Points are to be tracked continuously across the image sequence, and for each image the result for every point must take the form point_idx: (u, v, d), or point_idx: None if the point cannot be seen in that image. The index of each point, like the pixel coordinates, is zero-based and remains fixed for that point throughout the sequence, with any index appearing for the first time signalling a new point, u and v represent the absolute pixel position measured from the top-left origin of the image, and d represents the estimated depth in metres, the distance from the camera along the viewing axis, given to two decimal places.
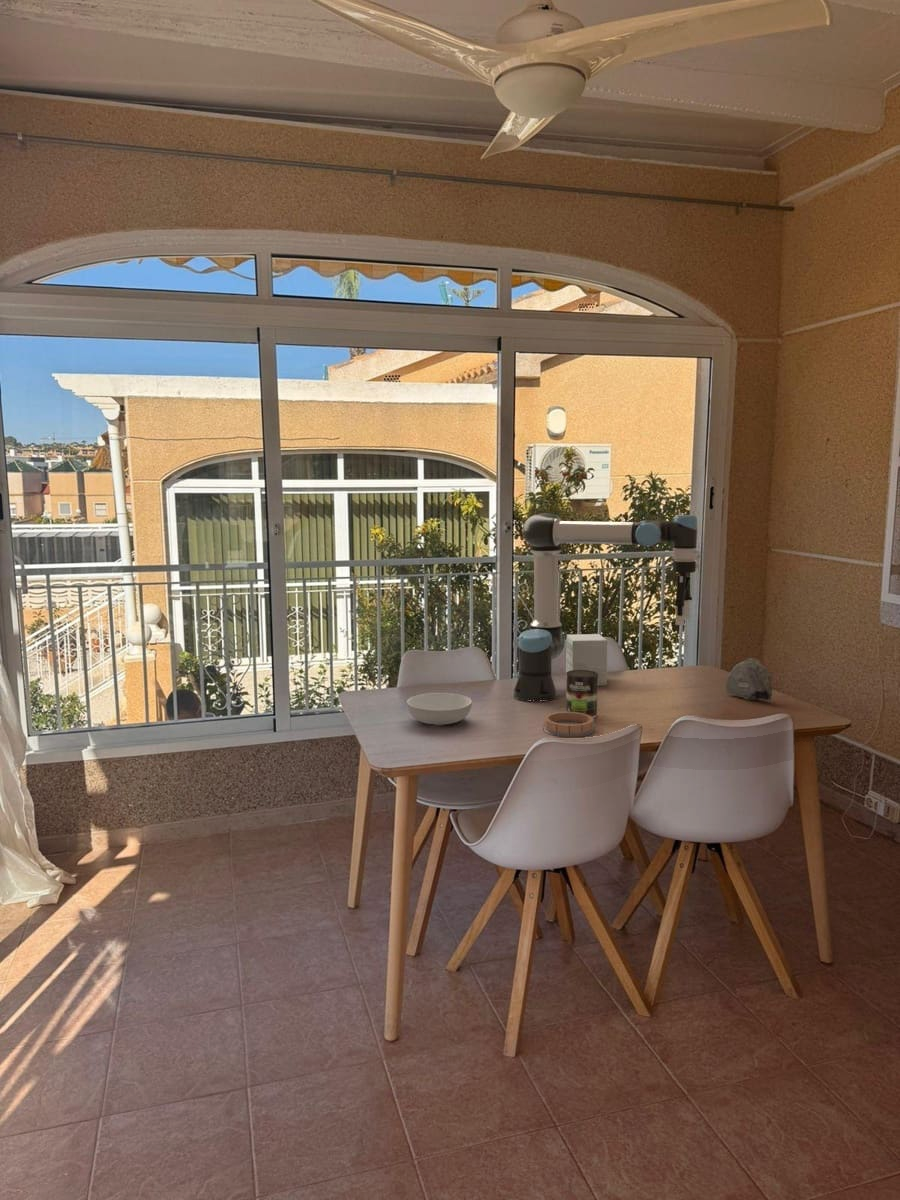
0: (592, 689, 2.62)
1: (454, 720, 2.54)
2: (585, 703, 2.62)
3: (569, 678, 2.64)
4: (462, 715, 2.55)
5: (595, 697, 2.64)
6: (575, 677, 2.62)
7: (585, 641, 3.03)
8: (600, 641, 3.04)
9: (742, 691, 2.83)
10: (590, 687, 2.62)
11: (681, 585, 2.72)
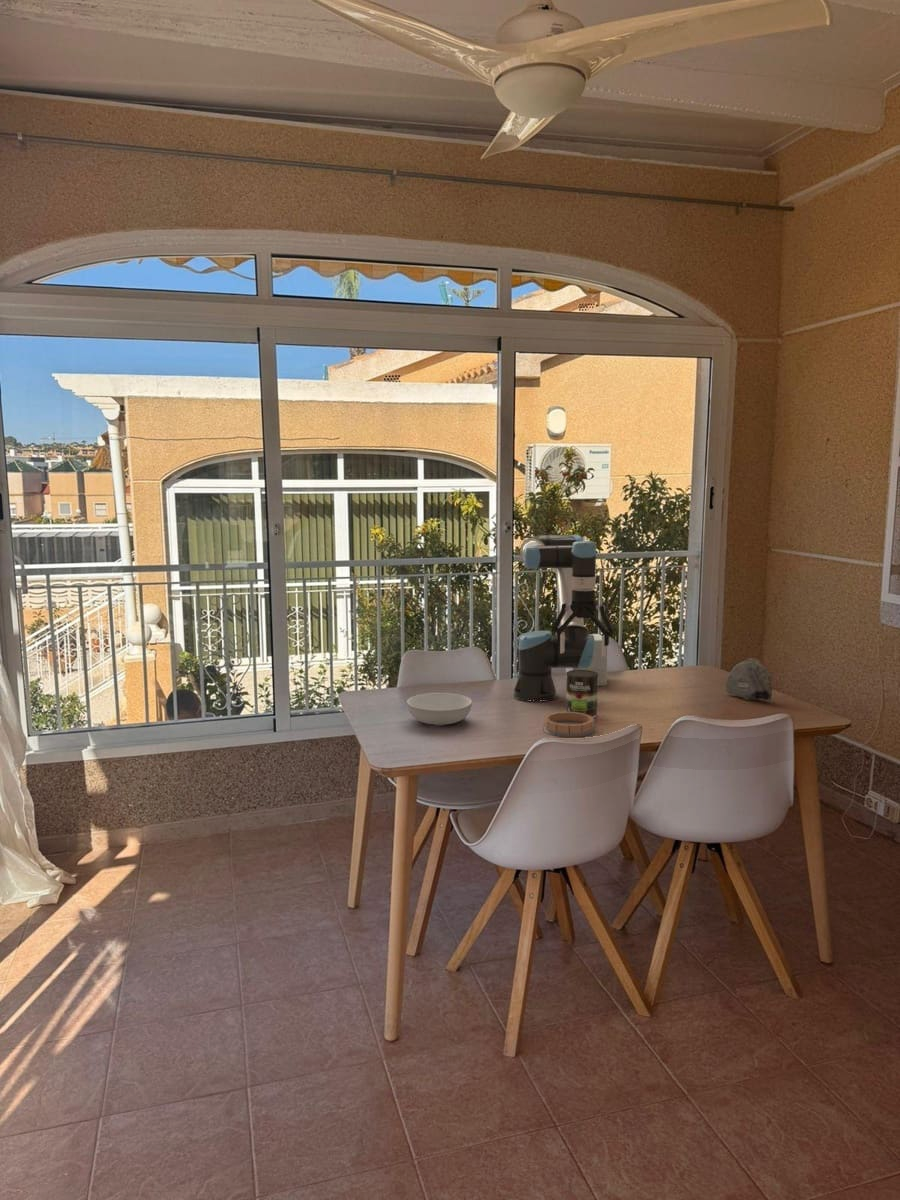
0: (592, 689, 2.62)
1: (454, 720, 2.54)
2: (585, 703, 2.62)
3: (569, 678, 2.64)
4: (462, 715, 2.55)
5: (595, 697, 2.64)
6: (575, 677, 2.62)
7: None
8: (600, 641, 3.04)
9: (742, 691, 2.83)
10: (590, 687, 2.62)
11: (560, 612, 2.65)
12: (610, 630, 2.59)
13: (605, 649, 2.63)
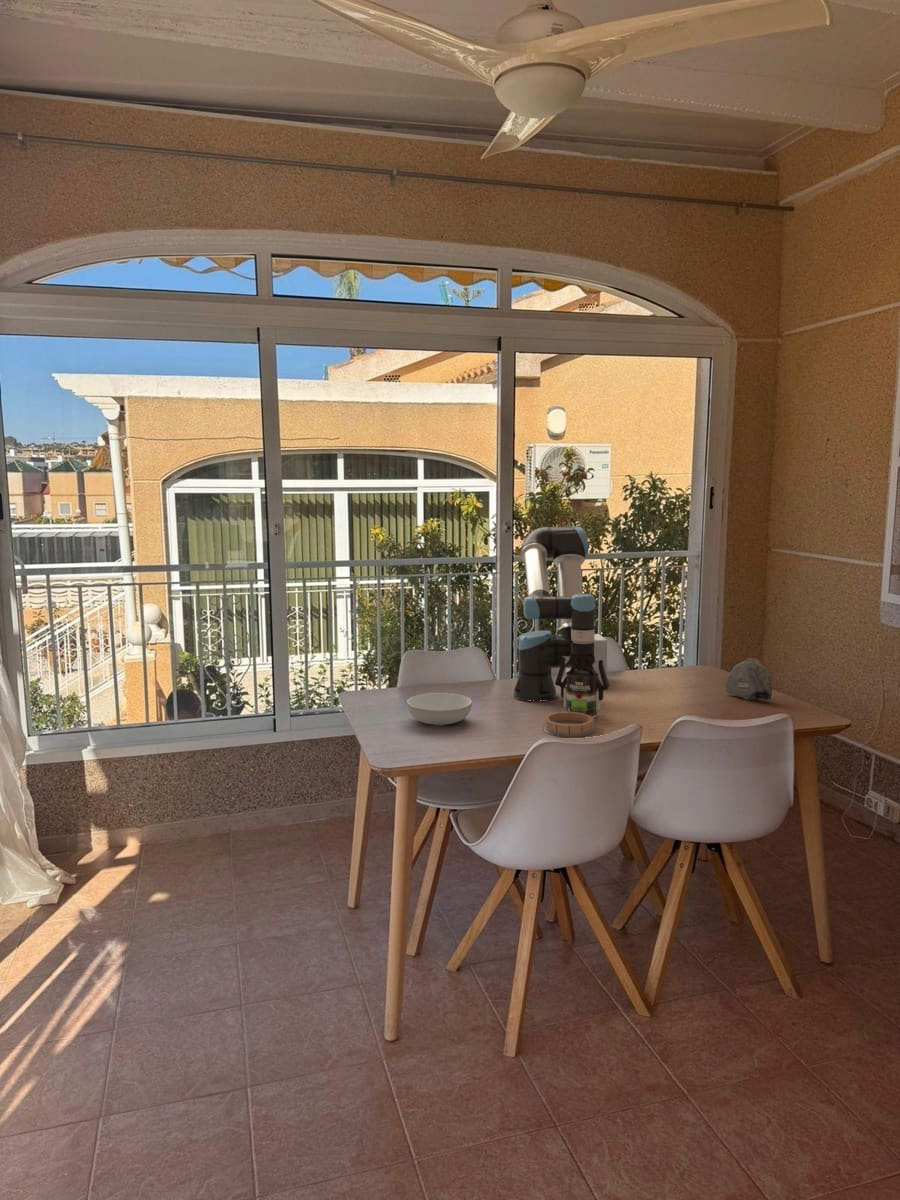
0: (592, 689, 2.62)
1: (454, 720, 2.54)
2: (585, 703, 2.62)
3: (569, 678, 2.64)
4: (462, 715, 2.55)
5: (595, 697, 2.64)
6: (575, 677, 2.62)
7: None
8: (600, 641, 3.04)
9: (742, 691, 2.83)
10: (590, 687, 2.62)
11: (561, 665, 2.68)
12: (605, 685, 2.62)
13: (599, 703, 2.66)
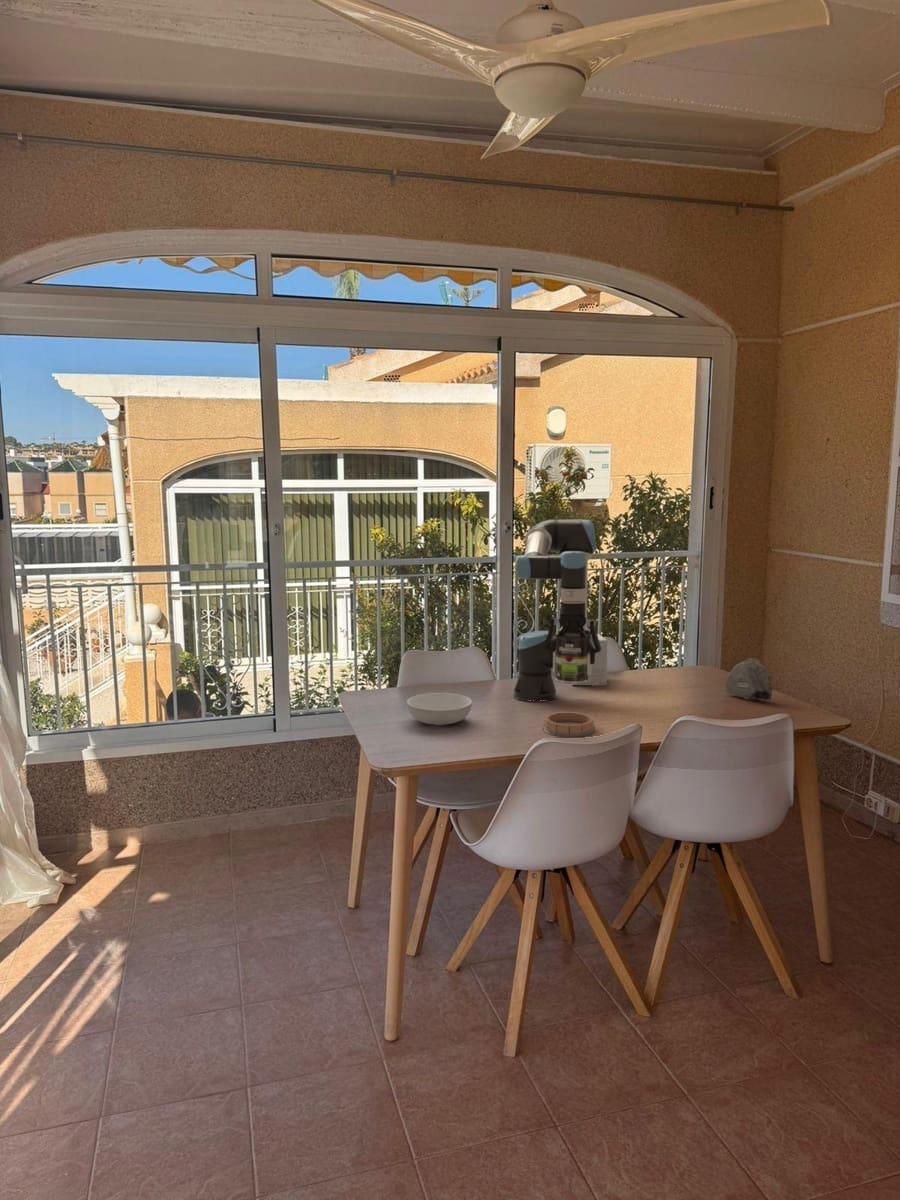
0: (583, 652, 2.47)
1: (454, 720, 2.54)
2: (575, 667, 2.47)
3: (559, 640, 2.48)
4: (462, 715, 2.55)
5: (586, 660, 2.48)
6: (565, 639, 2.46)
7: None
8: (600, 641, 3.04)
9: (742, 691, 2.83)
10: (580, 650, 2.46)
11: None
12: (596, 647, 2.47)
13: (591, 667, 2.51)
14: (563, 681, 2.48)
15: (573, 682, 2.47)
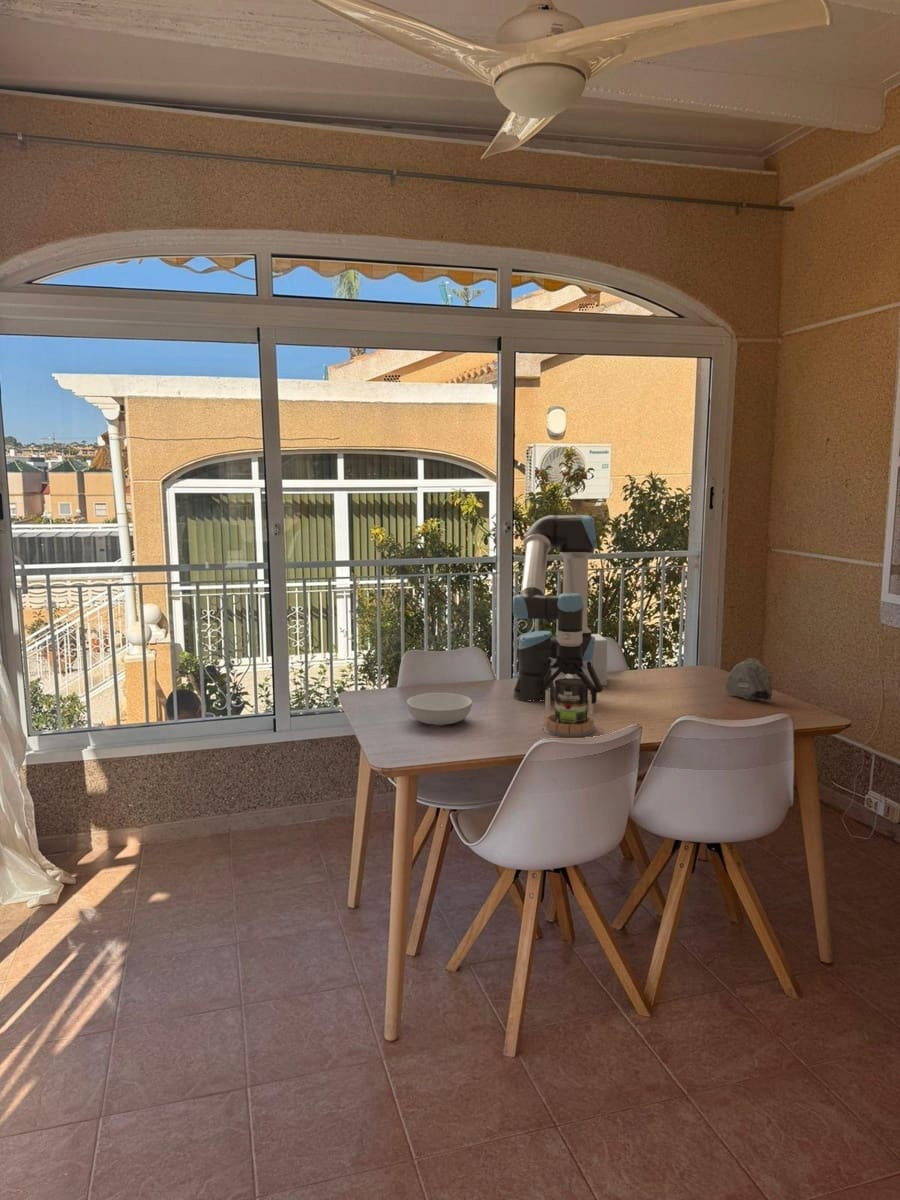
0: (582, 699, 2.46)
1: (454, 720, 2.54)
2: (574, 714, 2.46)
3: (557, 687, 2.48)
4: (462, 715, 2.55)
5: (585, 707, 2.48)
6: (564, 686, 2.46)
7: None
8: (600, 641, 3.04)
9: (742, 691, 2.83)
10: (579, 697, 2.46)
11: (546, 666, 2.52)
12: (598, 687, 2.46)
13: (592, 707, 2.49)
14: None
15: None
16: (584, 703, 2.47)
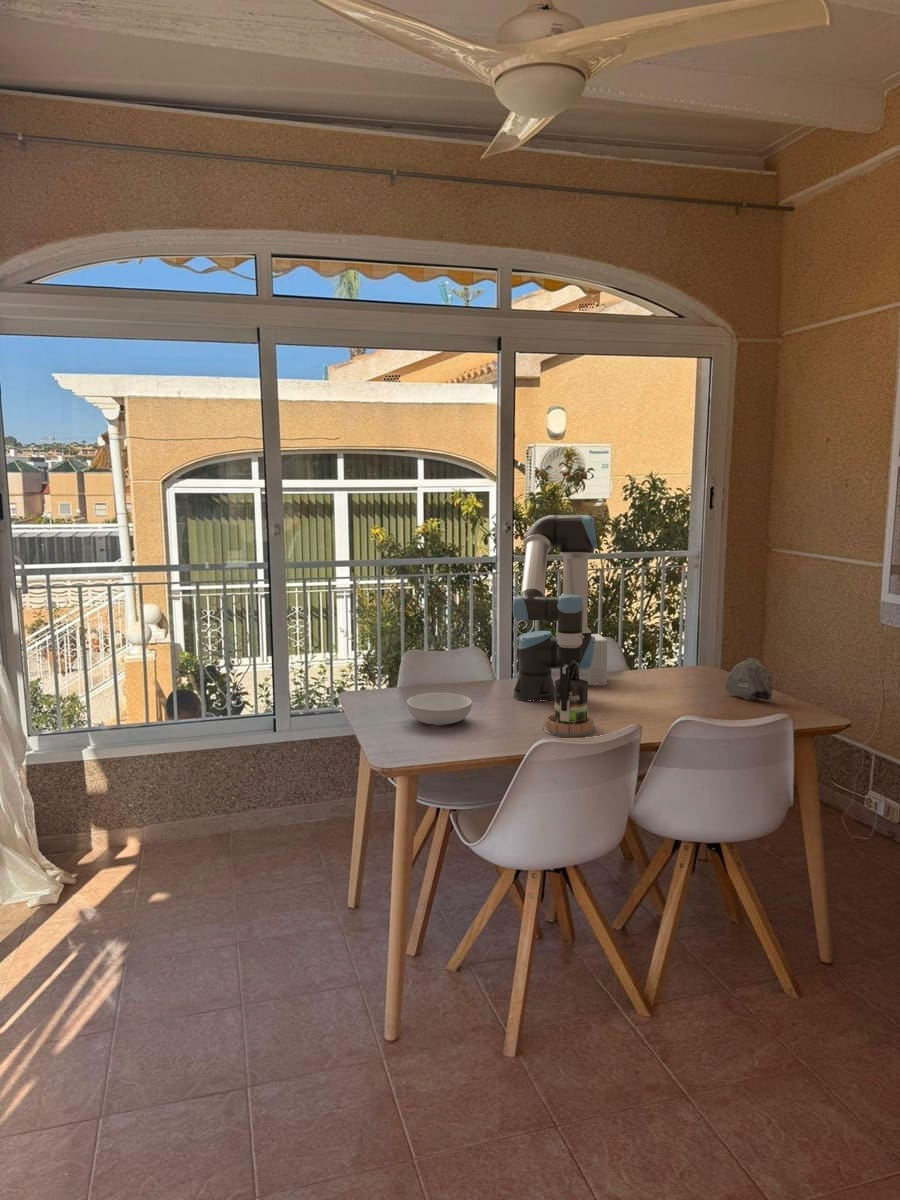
0: (582, 699, 2.46)
1: (454, 720, 2.54)
2: (574, 714, 2.46)
3: (557, 687, 2.48)
4: (462, 715, 2.55)
5: (585, 707, 2.48)
6: None
7: None
8: (600, 641, 3.04)
9: (742, 691, 2.83)
10: (579, 697, 2.46)
11: (564, 677, 2.43)
12: None
13: None
14: None
15: None
16: (584, 703, 2.47)
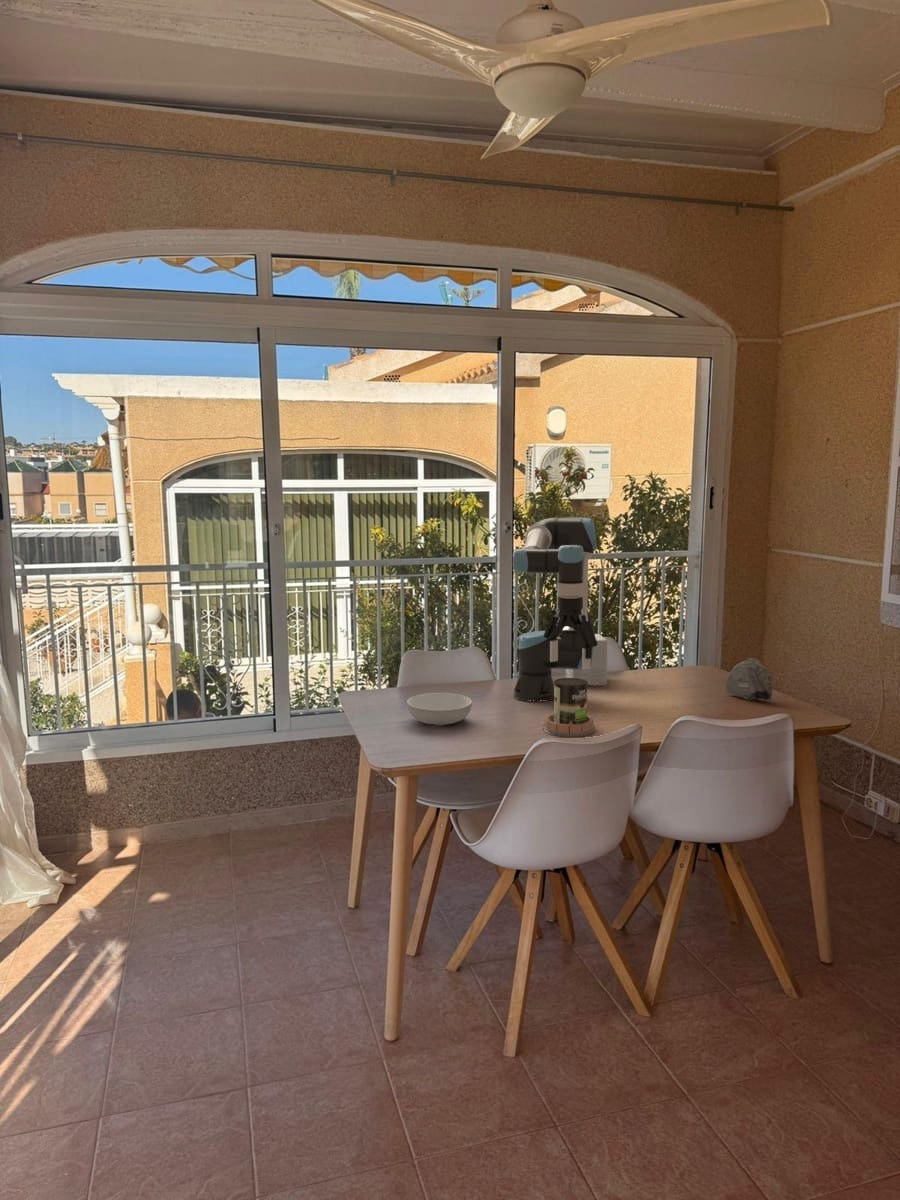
0: None
1: (454, 720, 2.54)
2: (585, 711, 2.49)
3: (571, 689, 2.46)
4: (462, 715, 2.55)
5: None
6: (579, 686, 2.46)
7: None
8: (600, 641, 3.04)
9: (742, 691, 2.83)
10: None
11: (588, 624, 2.42)
12: None
13: None
14: None
15: None
16: None
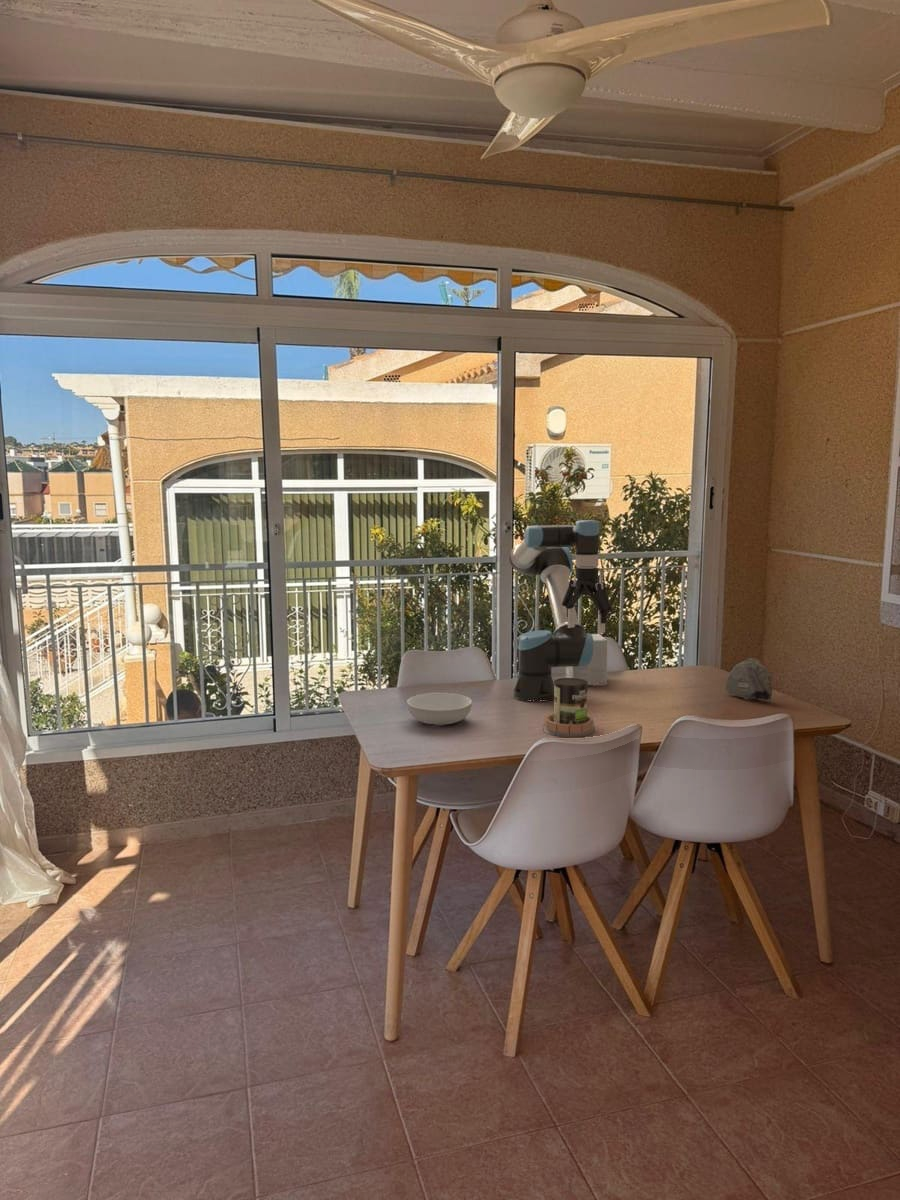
0: None
1: (454, 720, 2.54)
2: (585, 711, 2.49)
3: (571, 689, 2.46)
4: (462, 715, 2.55)
5: None
6: (579, 686, 2.46)
7: None
8: (600, 641, 3.04)
9: (742, 691, 2.83)
10: None
11: (603, 592, 2.65)
12: None
13: (568, 622, 2.77)
14: None
15: None
16: None
